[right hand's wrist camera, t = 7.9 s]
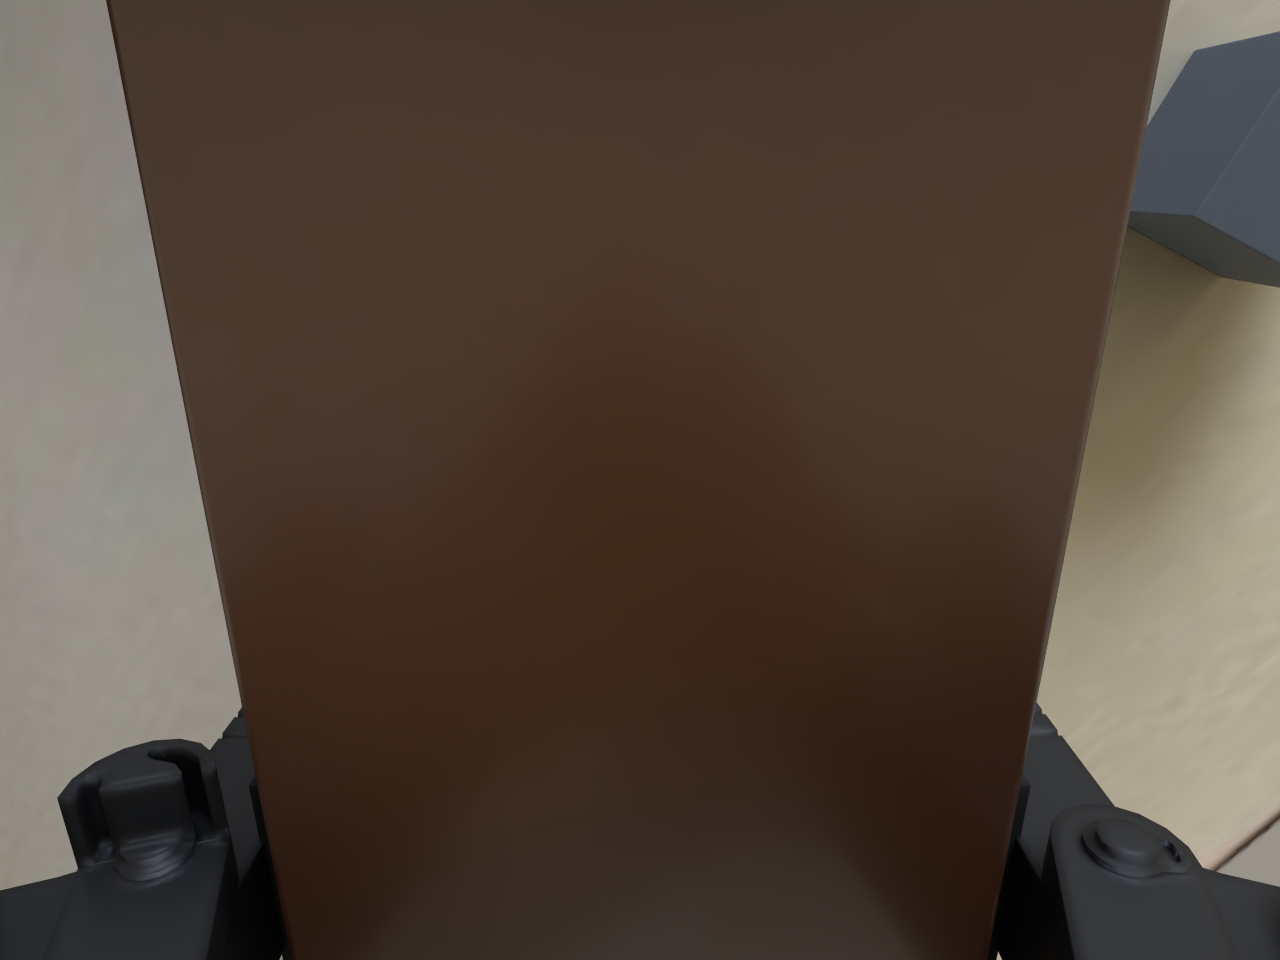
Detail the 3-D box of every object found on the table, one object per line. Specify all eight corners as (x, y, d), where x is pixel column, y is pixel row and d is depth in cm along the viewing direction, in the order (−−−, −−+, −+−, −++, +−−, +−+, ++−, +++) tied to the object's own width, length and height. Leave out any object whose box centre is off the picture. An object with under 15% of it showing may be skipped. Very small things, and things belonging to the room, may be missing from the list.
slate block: (1222, 277, 27) (1343, 299, 22) (1094, 209, 26) (1192, 217, 22) (1326, 126, 26) (1481, 115, 21) (1194, 49, 25) (1323, 20, 20)
